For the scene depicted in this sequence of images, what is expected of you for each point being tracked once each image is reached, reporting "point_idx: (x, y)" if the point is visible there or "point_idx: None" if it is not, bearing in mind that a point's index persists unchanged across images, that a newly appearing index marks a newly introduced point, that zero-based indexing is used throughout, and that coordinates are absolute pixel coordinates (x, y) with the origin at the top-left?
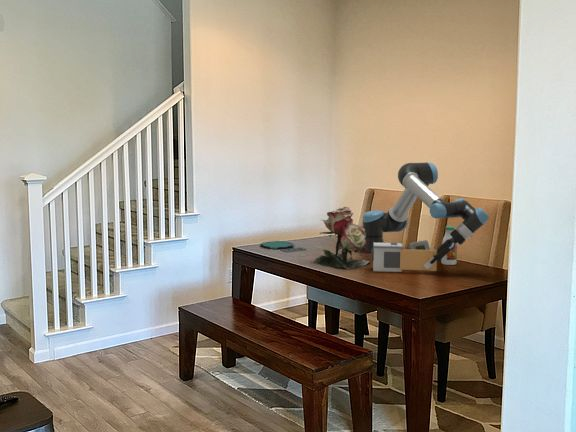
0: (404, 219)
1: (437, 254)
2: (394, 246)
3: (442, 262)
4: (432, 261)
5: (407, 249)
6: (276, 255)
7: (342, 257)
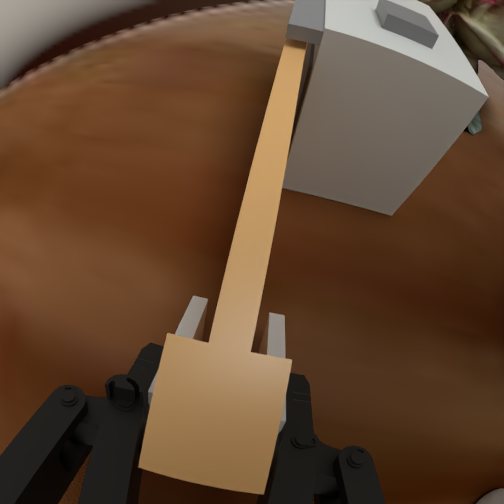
0: None
1: (97, 436)
2: (318, 4)
3: (488, 497)
4: (136, 368)
5: (299, 75)
6: None
7: None
